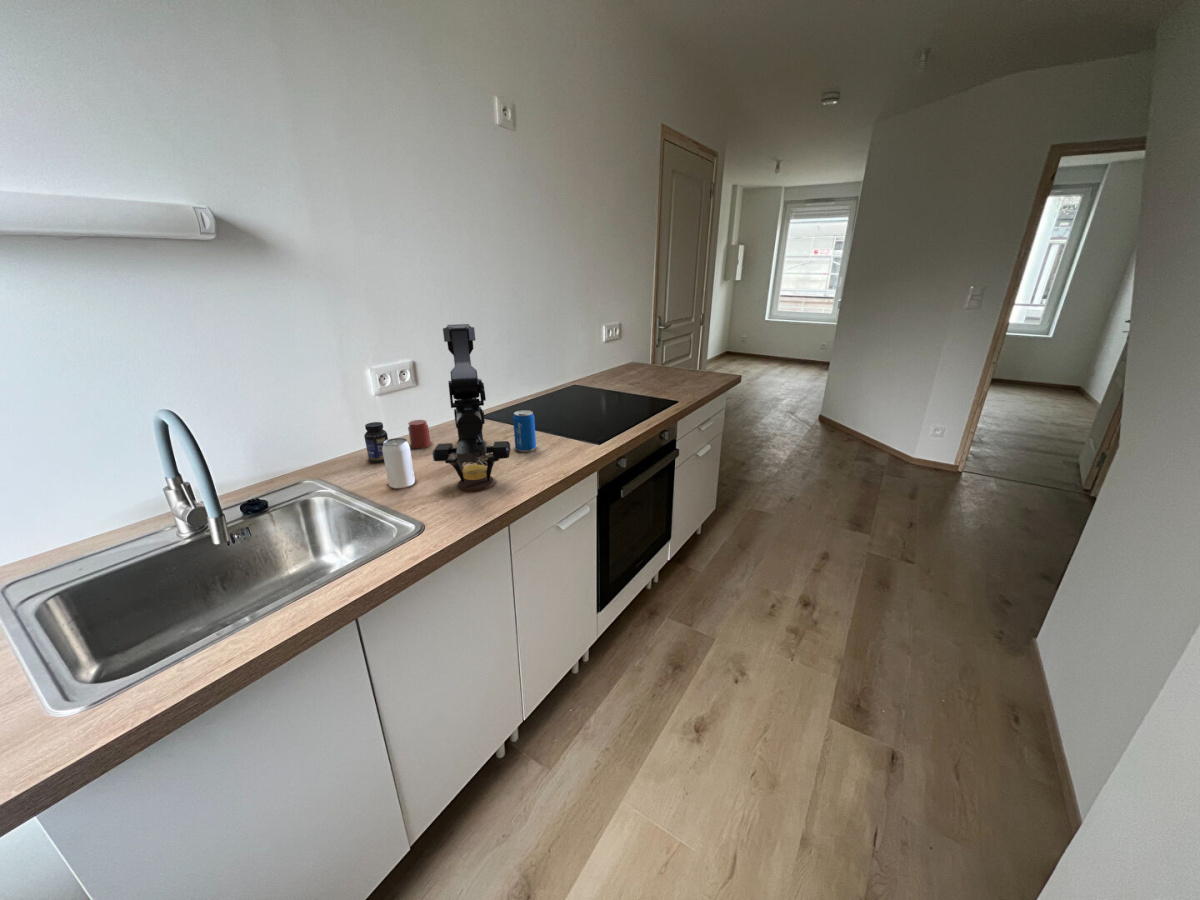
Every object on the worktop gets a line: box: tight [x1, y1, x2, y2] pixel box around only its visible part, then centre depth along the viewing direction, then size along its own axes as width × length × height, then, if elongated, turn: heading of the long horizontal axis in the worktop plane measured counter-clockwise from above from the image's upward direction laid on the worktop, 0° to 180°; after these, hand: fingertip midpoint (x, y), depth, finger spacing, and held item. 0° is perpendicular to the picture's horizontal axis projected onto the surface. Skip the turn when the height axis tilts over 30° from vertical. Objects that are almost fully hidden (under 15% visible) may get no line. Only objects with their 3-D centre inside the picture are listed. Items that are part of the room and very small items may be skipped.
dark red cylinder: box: [407, 419, 432, 450], centre depth 145 cm, size 6×6×8 cm
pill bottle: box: [363, 421, 389, 463], centre depth 133 cm, size 6×6×11 cm
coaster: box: [457, 475, 495, 493], centre depth 119 cm, size 9×9×1 cm
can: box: [382, 437, 416, 490], centre depth 117 cm, size 6×6×12 cm
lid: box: [462, 464, 487, 480], centre depth 118 cm, size 6×6×2 cm
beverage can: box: [512, 409, 537, 453], centre depth 141 cm, size 6×6×12 cm
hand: (476, 481), depth 119 cm, fingers closed on lid, 6 cm apart
